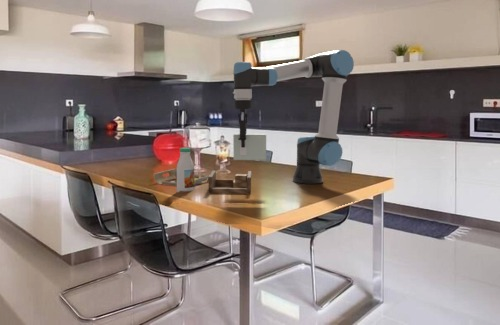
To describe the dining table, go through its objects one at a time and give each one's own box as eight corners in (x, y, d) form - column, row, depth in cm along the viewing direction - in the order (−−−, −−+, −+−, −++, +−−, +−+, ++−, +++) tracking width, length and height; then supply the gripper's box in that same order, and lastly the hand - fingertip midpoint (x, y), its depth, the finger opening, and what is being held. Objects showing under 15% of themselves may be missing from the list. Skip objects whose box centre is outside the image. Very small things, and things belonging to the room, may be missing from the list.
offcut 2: (246, 186, 183) (246, 180, 183) (246, 188, 178) (246, 182, 178) (233, 186, 183) (233, 180, 183) (233, 188, 178) (233, 182, 178)
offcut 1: (247, 180, 182) (247, 174, 182) (246, 182, 178) (246, 176, 177) (236, 180, 182) (236, 173, 182) (235, 182, 178) (235, 175, 178)
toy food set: (153, 184, 196) (152, 169, 195) (175, 178, 212) (175, 164, 211) (196, 189, 185) (195, 173, 184) (216, 183, 201) (216, 168, 200)
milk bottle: (177, 194, 172) (177, 149, 169) (176, 191, 180) (175, 147, 177) (195, 194, 174) (195, 148, 171) (193, 190, 182) (192, 146, 179)
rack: (251, 189, 185) (251, 171, 184) (250, 197, 170) (250, 177, 168) (212, 188, 186) (212, 170, 184) (208, 196, 170) (208, 176, 169)
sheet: (265, 158, 174) (266, 133, 173) (266, 160, 171) (266, 134, 169) (234, 158, 175) (233, 133, 173) (233, 160, 171) (233, 134, 169)
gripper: (235, 99, 177) (236, 151, 181) (232, 99, 161) (233, 156, 164) (252, 99, 177) (252, 151, 180) (251, 99, 160) (251, 156, 164)
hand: (243, 154), depth 172 cm, fingers closed on sheet, 3 cm apart
